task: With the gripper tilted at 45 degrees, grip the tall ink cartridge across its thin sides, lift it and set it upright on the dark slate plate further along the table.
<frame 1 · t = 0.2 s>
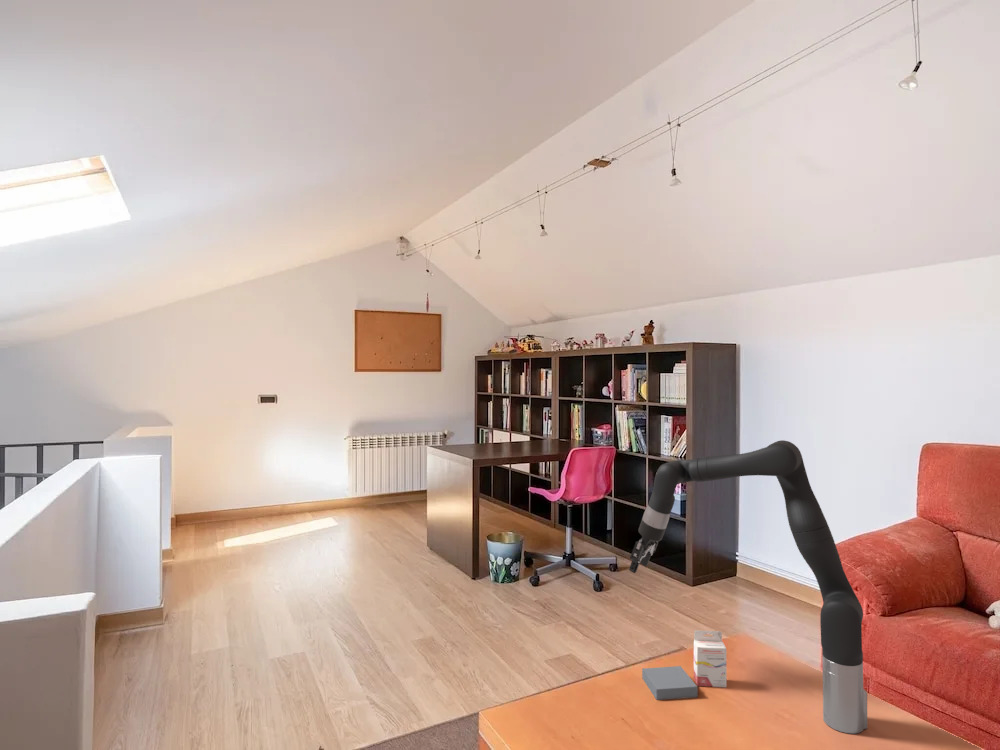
hand: (638, 568, 189), 31 cm above the table, tool tilted 20°, fingers open, 8 cm apart
slate plate: (669, 687, 176), on the table
ink cartridge box: (710, 683, 178), on the table
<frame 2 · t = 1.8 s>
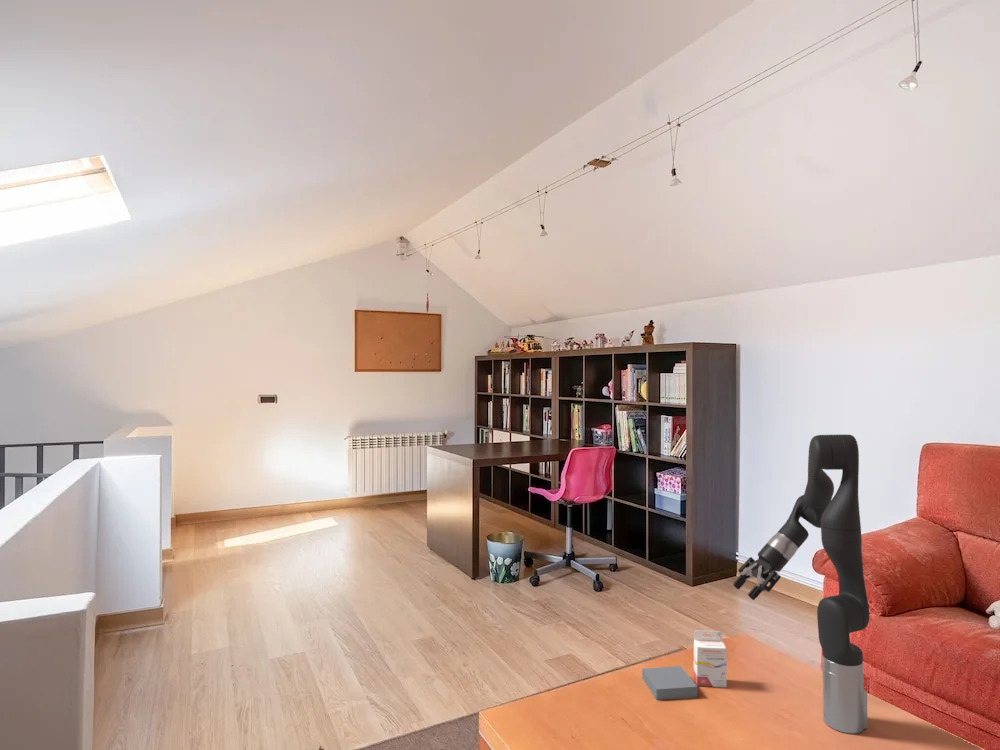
hand: (742, 592, 179), 26 cm above the table, tool tilted 45°, fingers open, 8 cm apart
nothing on the table moved.
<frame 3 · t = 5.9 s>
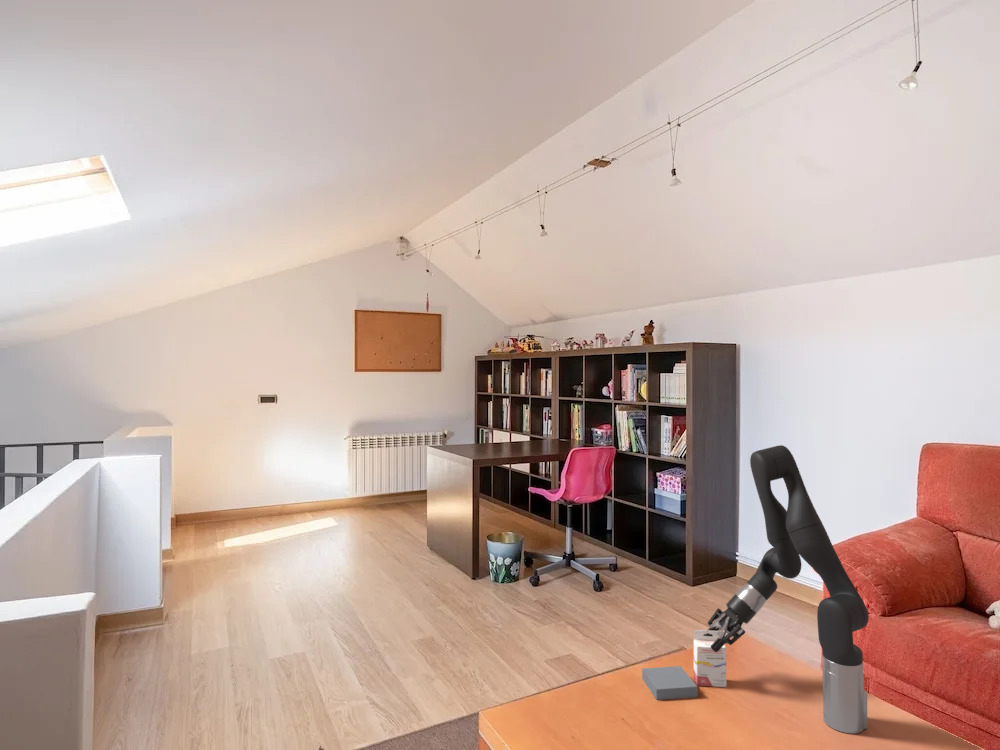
hand: (708, 645, 178), 11 cm above the table, tool tilted 45°, fingers closed on ink cartridge box, 5 cm apart
ink cartridge box: (710, 683, 178), on the table, touching gripper
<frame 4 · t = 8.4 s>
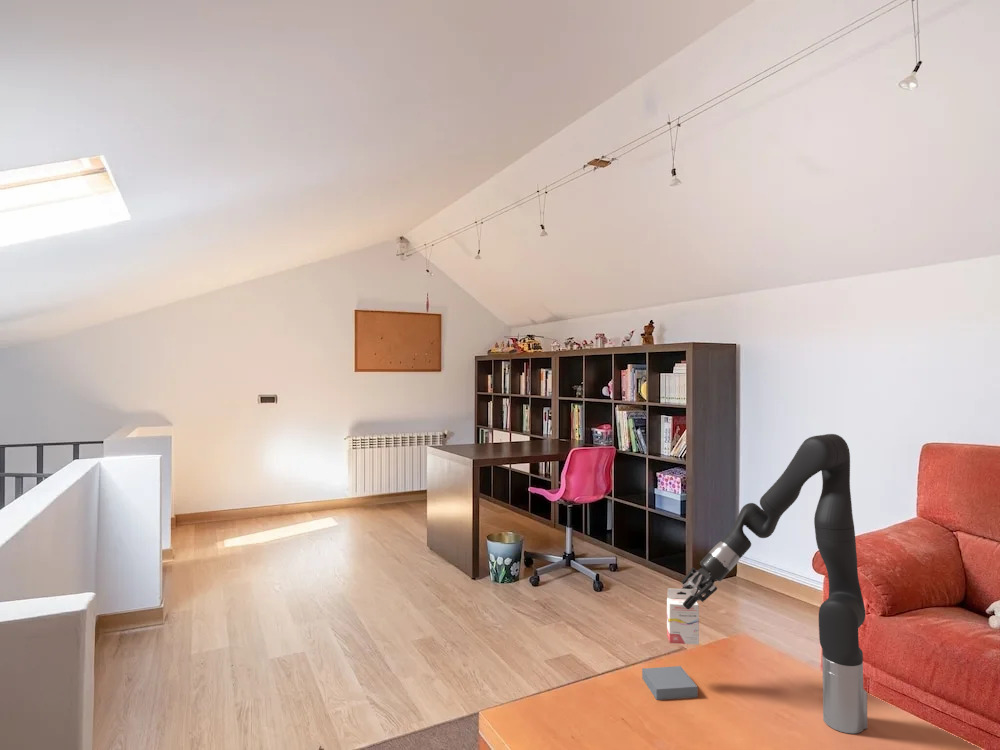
hand: (681, 602, 177), 24 cm above the table, tool tilted 45°, fingers closed on ink cartridge box, 5 cm apart
ink cartridge box: (683, 641, 177), point 13 cm above the table, touching gripper
when the fingers open (15 cm above the table, at t = 10.9 s): ink cartridge box drops 1 cm, resting on slate plate.
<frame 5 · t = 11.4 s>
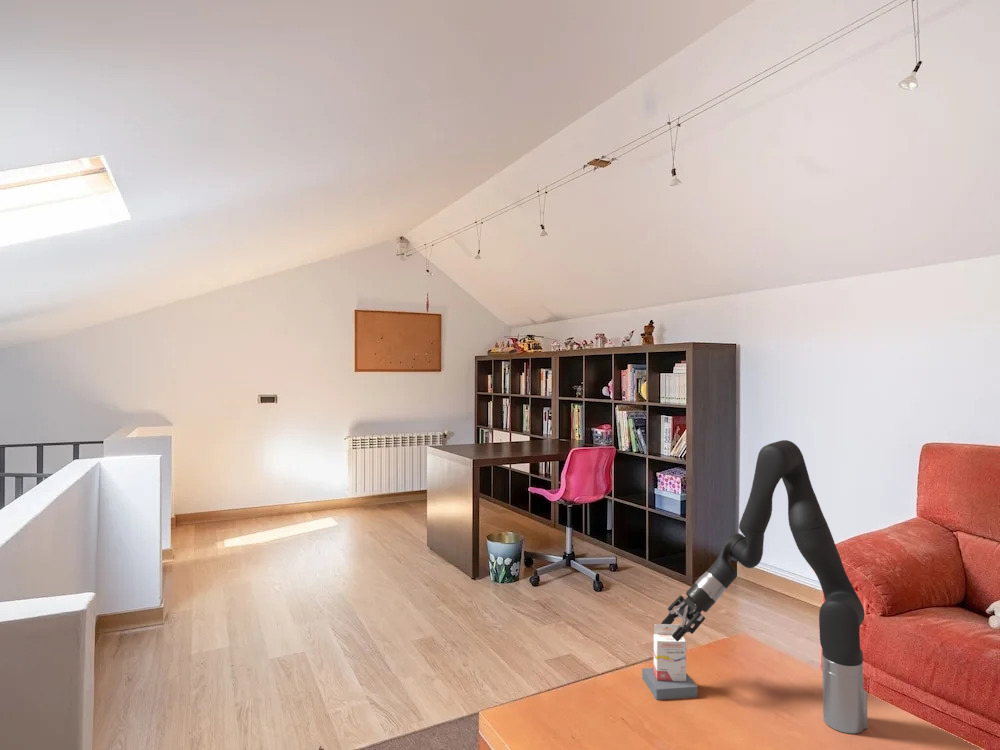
hand: (668, 632, 176), 16 cm above the table, tool tilted 45°, fingers open, 8 cm apart
ink cartridge box: (669, 677, 176), point 3 cm above the table, touching slate plate
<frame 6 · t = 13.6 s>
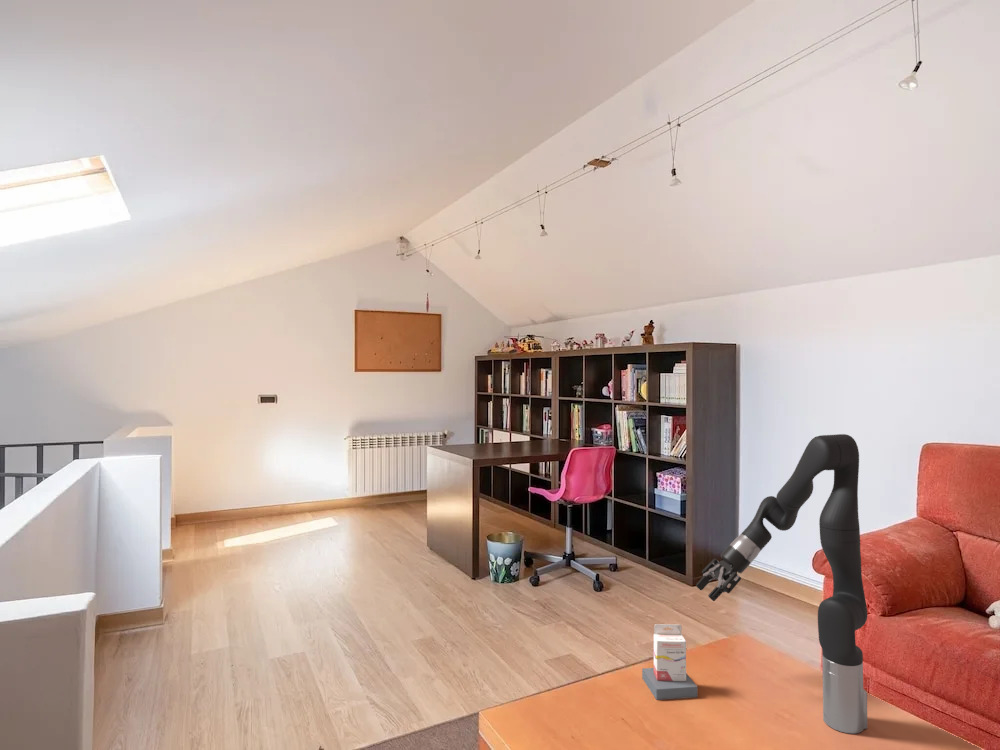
hand: (704, 593, 179), 26 cm above the table, tool tilted 45°, fingers open, 8 cm apart
nothing on the table moved.
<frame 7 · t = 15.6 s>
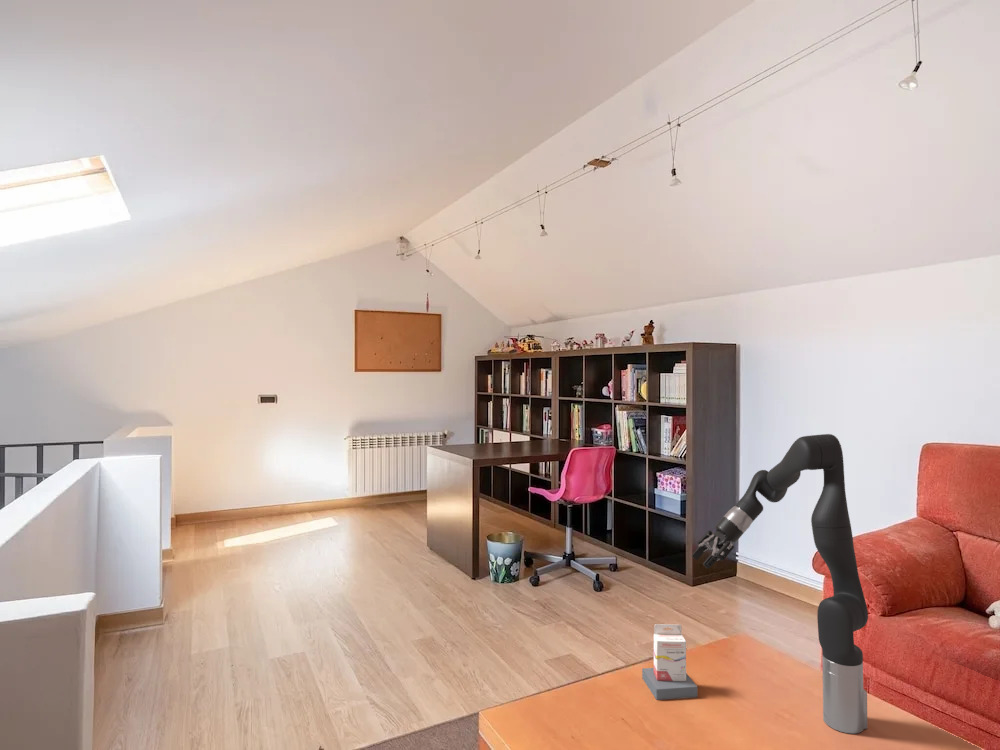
hand: (699, 562, 188), 33 cm above the table, tool tilted 45°, fingers open, 8 cm apart
nothing on the table moved.
at the end: ink cartridge box inside the target area on the slate plate (0.3 cm from its centre), point 2.8 cm above the slate plate's base; ink cartridge box tilted 0°; the gripper is holding nothing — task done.
